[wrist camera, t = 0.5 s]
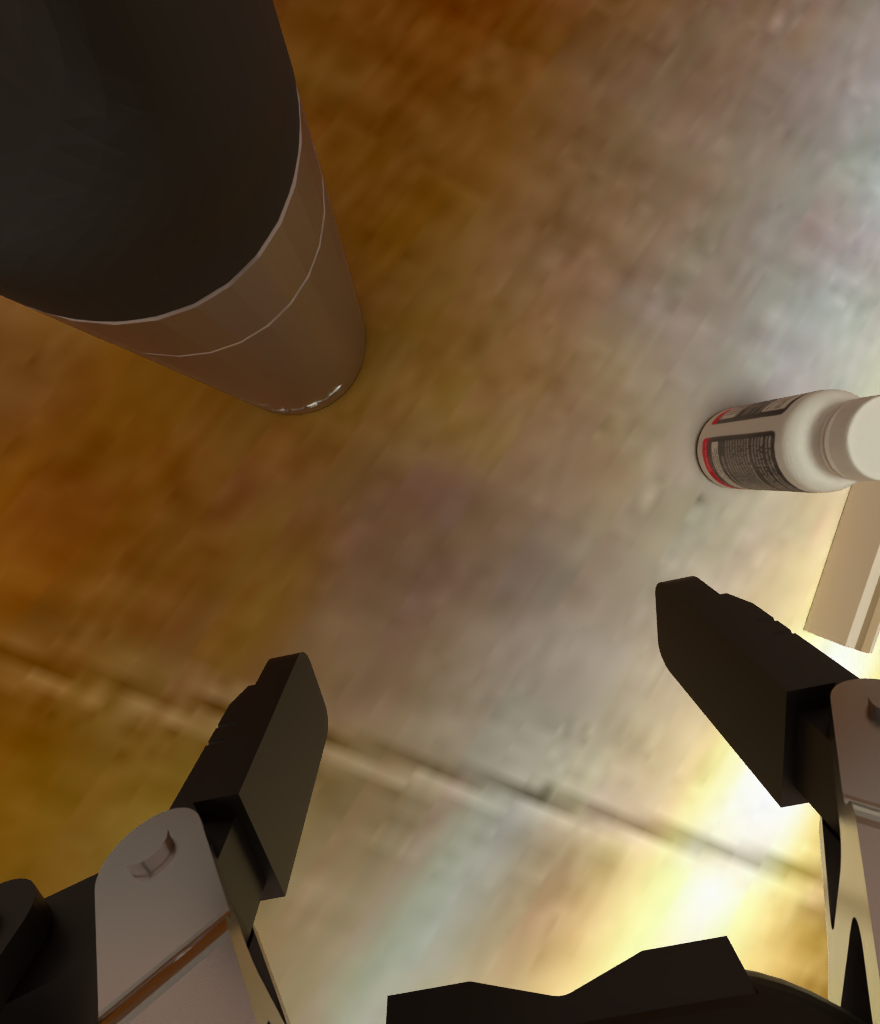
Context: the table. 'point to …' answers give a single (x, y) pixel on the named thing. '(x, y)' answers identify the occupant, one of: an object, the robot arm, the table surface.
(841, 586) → the door edge sill
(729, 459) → the pill bottle
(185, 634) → the table surface
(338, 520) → the table surface
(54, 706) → the table surface
